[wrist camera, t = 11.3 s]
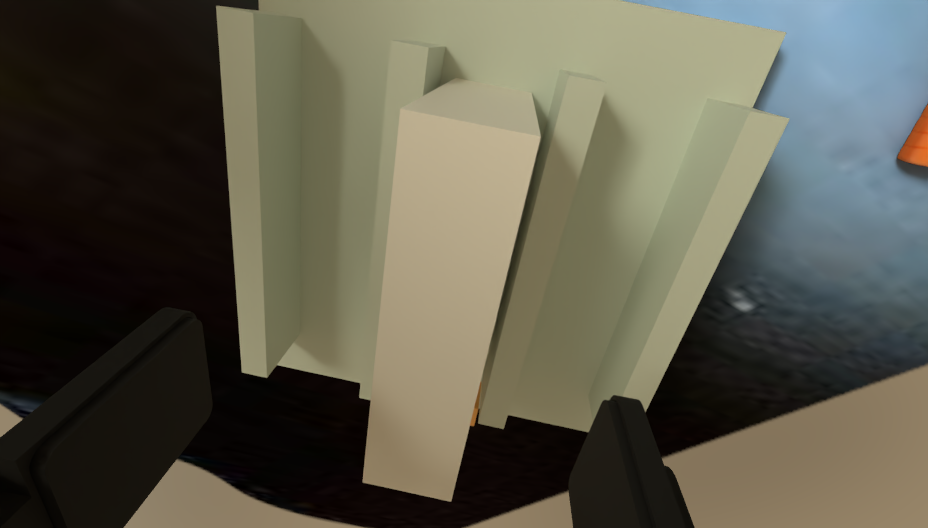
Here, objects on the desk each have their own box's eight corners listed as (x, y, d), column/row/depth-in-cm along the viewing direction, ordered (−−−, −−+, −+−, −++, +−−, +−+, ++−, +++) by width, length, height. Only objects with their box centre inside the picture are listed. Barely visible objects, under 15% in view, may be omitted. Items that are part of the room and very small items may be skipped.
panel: (455, 77, 17) (400, 108, 9) (531, 92, 17) (541, 136, 9) (417, 327, 23) (362, 482, 15) (475, 340, 23) (450, 501, 15)
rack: (272, -63, 17) (192, -97, 13) (769, 33, 17) (852, 30, 12) (280, 350, 26) (234, 409, 22) (601, 419, 26) (617, 493, 22)
